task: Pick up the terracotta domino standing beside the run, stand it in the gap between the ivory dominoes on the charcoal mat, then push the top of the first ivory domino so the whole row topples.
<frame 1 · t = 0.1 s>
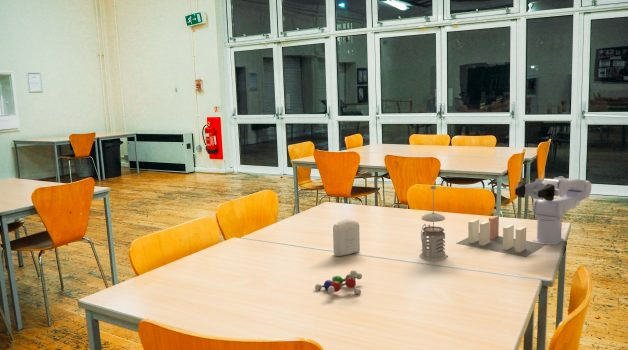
hand: (527, 192, 171), 22 cm above the table, tool horizontal, fingers open, 7 cm apart
mat: (500, 245, 186), on the table
domino 4: (473, 241, 190), resting on mat
domino 1: (520, 250, 178), resting on mat
photo printer: (347, 253, 184), on the table
terracotta domino: (493, 237, 194), resting on mat
domino 2: (508, 247, 181), resting on mat
domino 3: (484, 243, 187), resting on mat
molecule model: (340, 291, 151), on the table
french press: (432, 257, 176), on the table
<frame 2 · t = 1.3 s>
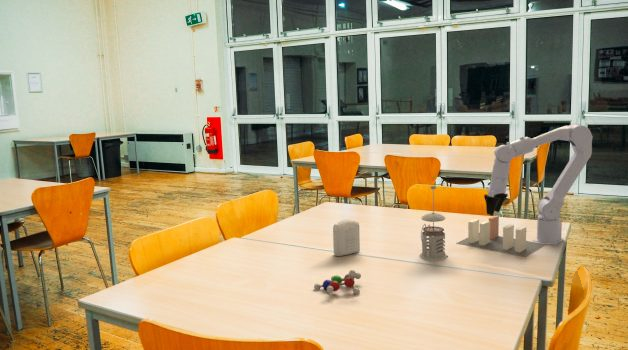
hand: (492, 212, 190), 11 cm above the table, tool pointing down, fingers open, 7 cm apart
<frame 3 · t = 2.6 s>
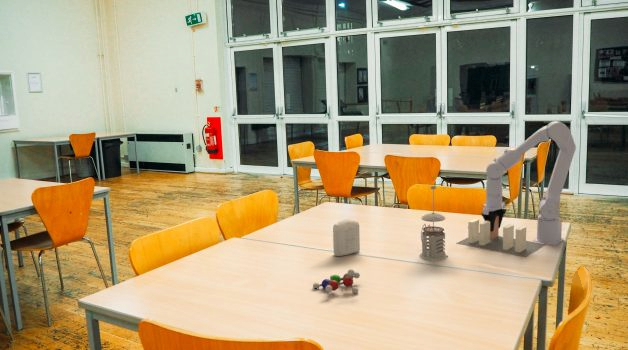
hand: (493, 229, 193), 4 cm above the table, tool pointing down, fingers closed on terracotta domino, 5 cm apart
terracotta domino: (493, 237, 194), resting on mat, touching gripper
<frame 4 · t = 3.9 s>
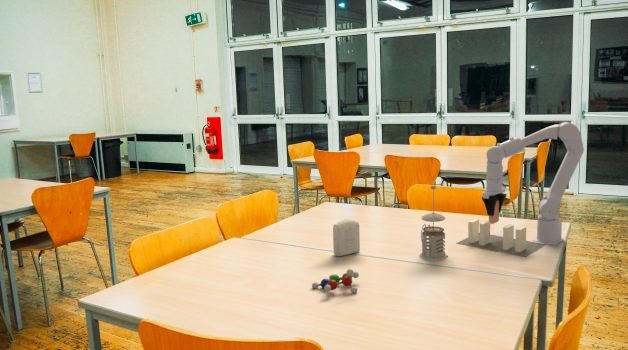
hand: (493, 213, 192), 10 cm above the table, tool pointing down, fingers closed on terracotta domino, 5 cm apart
terracotta domino: (493, 222, 193), point 7 cm above the table, touching gripper
when the fingers open (5 cm above the table, at t = 6.8 s): terracotta domino stays where it is and tips over, resting on domino 2, domino 3, mat.
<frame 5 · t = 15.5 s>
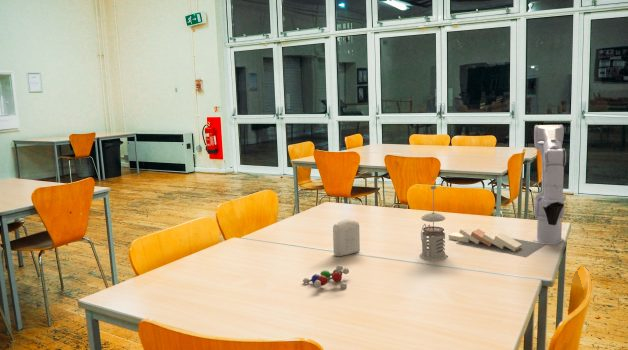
hand: (552, 224, 172), 10 cm above the table, tool pointing down, fingers closed
domino 4: (471, 238, 190), point 1 cm above the table, tilted 90°, touching domino 3, mat
domino 1: (518, 247, 178), point 1 cm above the table, tilted 69°, touching domino 2, mat
terracotta domino: (493, 243, 184), point 1 cm above the table, tilted 69°, touching domino 2, domino 3, mat
domino 2: (506, 245, 181), point 1 cm above the table, tilted 69°, touching domino 1, mat, terracotta domino
domino 3: (481, 241, 188), point 1 cm above the table, tilted 67°, touching domino 4, mat, terracotta domino
molecule model: (327, 285, 156), on the table
everything else where it was.
at the end: domino 4 tilted 90°; terracotta domino tilted 69°; terracotta domino inside the target area (0.9 cm from its centre), point 1.2 cm above the table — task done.
